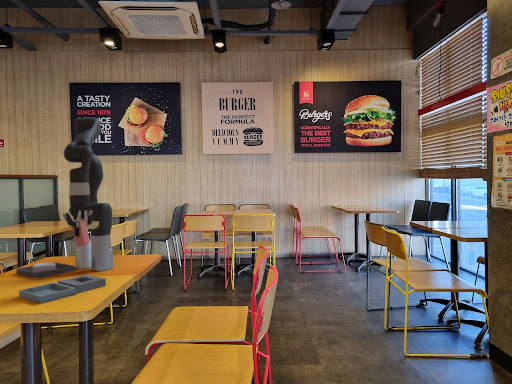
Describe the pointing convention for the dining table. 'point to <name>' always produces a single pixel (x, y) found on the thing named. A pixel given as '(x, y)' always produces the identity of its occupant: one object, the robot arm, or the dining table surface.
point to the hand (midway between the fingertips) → (80, 236)
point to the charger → (43, 267)
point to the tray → (47, 292)
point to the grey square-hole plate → (84, 282)
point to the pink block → (82, 234)
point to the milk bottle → (83, 256)
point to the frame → (28, 271)
